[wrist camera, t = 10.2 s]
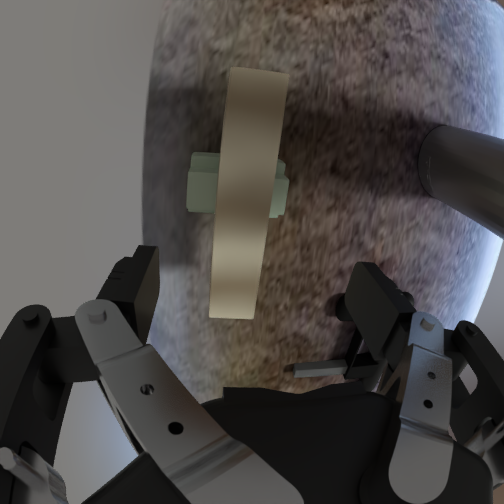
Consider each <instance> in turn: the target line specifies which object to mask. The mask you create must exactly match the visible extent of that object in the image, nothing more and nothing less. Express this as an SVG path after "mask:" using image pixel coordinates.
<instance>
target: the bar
mask: <svg viewBox="0 0 504 504" xmlns="http://www.w3.org/2000/svg"><path fill="white" fill-rule="evenodd" d="M288 81H289V74H284V73H278V72H272V71H265V70H258V69H250V68H241V67H231V71H230V74H229V81H228V88H227V96H226V105H225V113H224V122H223V131H222V140H221V149H220V159H219V170H218V180H217V192H216V203H215V216H214V229H213V243H212V257H211V274H210V299H209V317H212V318H236V319H253V317H254V311H255V305H256V298H257V292H258V286H259V279H260V273H261V266H262V260H263V254H264V247H265V241H266V234H267V227H268V221H269V214H270V207H271V201H272V194H273V187H274V180H275V174H276V167H277V160H278V153H279V146H280V139H281V132H282V125H283V117H284V110H285V103H286V96H287V88H288Z"/></svg>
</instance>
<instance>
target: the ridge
mask: <svg viewBox="0 0 504 504" xmlns="http://www.w3.org/2000/svg"><path fill="white" fill-rule="evenodd" d="M219 159H220V153H207V152H193V154H192V155H191V167H190V169H189V171H188V182H187V201H186V208H188V212H201V213H215V203H216V192H217V180H218V170H219ZM285 167H286V164H285V163H284V162H283V161H282V160H280V159H278V160H277V167H276V174H275V180H274V187H273V194H272V201H271V207H270V214H269V217H271V218H278V215H284V211H285V205H286V199H287V192H288V186H289V179H288V178H287V177H286V176H285V175H284V173H285Z"/></svg>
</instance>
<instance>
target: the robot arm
mask: <svg viewBox="0 0 504 504" xmlns="http://www.w3.org/2000/svg"><path fill="white" fill-rule="evenodd" d="M418 170H419V176H420V180H421V183H422V185H423V187H424V189H425V190H426V192H427V193H428V194H430V195H431V196H432V197H434V198H436V199H438V200H440V201H441V202H443V203H445V204H447V205H448V206H450V207H452V208H453V209H455V210H457V211H459V212H460V213H462V214H464V215H465V216H467V217H469V218H470V219H472V220H474V221H475V222H477V223H479V224H480V225H482V226H483V227H485V228H487V229H488V230H490V231H491V232H493V233H494V234H496V235H497V236H499V237H500V238H502V239H503V240H504V139H500V138H497V137H493V136H490V135H486V134H482V133H478V132H474V131H470V130H466V129H461V128H457V127H452V126H445V125H443V126H439V127H437V128H435V129H433V130H432V131H431V132H430V133H429V134H428V135H427V137H426V138H425V140H424V141H423V144H422V146H421V149H420V153H419V160H418ZM159 289H160V274H159V249H158V247H157V246H145V245H139V246H138V248H137V249H136V251H135V253H134V255H133V257H124V258H123V259H121V260H120V261H118V262H117V263H116V264H115V266H114V268H113V269H112V272H111V273H110V275H109V276H108V279H107V280H106V281H105V283H104V285H103V287H102V289H101V290H100V292H99V294H98V296H97V298H96V300H91V301H88V302H86V303H84V304H82V305H81V306H80V307H79V308H78V309H77V311H76V313H75V316H70V317H61V318H60V317H59V318H52V316H51V313H50V311H49V309H47V307H45V306H43V305H30V306H26V307H24V308H22V309H21V310H19V311H18V312H17V313H16V315H15V316H14V317H13V319H12V321H11V322H10V324H9V325H8V327H7V329H6V330H5V332H4V334H3V335H2V337H1V339H0V504H69V503H68V501H67V497H66V487H65V483H64V480H63V478H62V477H61V475H60V474H59V473H58V472H57V471H56V470H55V469H54V468H53V464H54V459H55V454H56V449H57V444H58V439H59V435H60V430H61V426H62V422H63V418H64V414H65V410H66V406H67V403H68V399H69V396H70V392H71V388H72V385H73V382H85V381H94V380H96V381H97V383H98V385H99V387H100V389H101V391H102V393H103V395H104V397H105V399H106V401H107V402H108V404H109V406H110V408H111V410H112V412H113V413H114V415H115V417H116V419H117V421H118V422H119V424H120V426H121V428H122V430H123V431H124V433H125V435H126V437H127V438H128V440H129V442H130V443H131V445H132V447H133V448H134V450H135V451H136V453H137V454H138V457H137V458H135V459H134V460H133V461H132V462H131V463H130V464H129V465H127V466H126V467H125V468H124V469H123V470H122V471H120V472H119V473H118V474H117V475H116V476H115V477H114V478H112V479H111V480H110V481H108V482H107V483H106V484H105V485H104V486H102V487H101V488H100V489H99V490H97V491H96V492H95V493H94V494H92V495H91V496H90V497H89V498H87V499H86V500H85V501H84V502H83V503H81V504H493V490H494V489H496V488H497V487H499V486H500V485H502V484H503V483H504V361H503V359H502V358H501V356H500V355H499V354H498V353H497V351H496V349H495V348H494V347H493V345H492V344H491V343H490V341H489V340H488V339H487V337H486V336H485V335H484V334H483V332H482V331H481V330H480V329H479V328H478V327H477V326H476V325H474V324H473V323H471V322H469V321H465V320H462V321H460V322H459V323H458V324H457V326H456V328H455V330H448V329H443V325H442V323H441V322H440V321H439V320H438V319H437V318H436V317H435V316H433V315H431V314H429V313H426V312H417V311H416V309H415V308H414V307H413V305H412V304H411V303H410V302H409V300H408V299H407V298H406V297H405V295H403V293H402V292H401V291H400V289H398V287H397V286H396V284H395V283H394V282H393V281H392V280H391V279H389V278H388V277H387V276H385V275H384V273H383V272H382V271H381V270H380V269H379V267H378V266H377V265H376V264H375V263H372V262H357V263H356V264H355V266H354V269H353V272H352V275H351V278H350V281H349V284H348V287H347V290H346V293H345V305H346V307H347V309H348V311H349V313H350V315H351V317H352V318H353V320H354V322H355V324H356V326H357V328H358V330H359V331H360V333H361V335H362V337H363V339H364V341H365V343H366V345H367V347H368V349H369V351H370V352H371V354H372V356H373V358H374V360H384V359H387V361H388V362H387V363H386V365H385V367H384V369H383V372H382V376H381V379H380V382H379V385H378V388H377V391H376V393H375V392H370V391H365V389H364V386H363V384H362V382H361V381H358V382H349V383H339V384H331V385H328V386H325V387H322V388H319V389H315V390H312V391H309V392H306V393H302V394H294V393H288V392H282V391H276V390H271V389H265V388H239V387H223V396H222V398H218V399H214V400H210V401H207V402H205V403H202V404H199V403H198V401H197V400H196V399H195V398H194V397H193V396H192V394H191V393H190V392H189V391H188V390H187V389H186V387H185V386H184V385H183V384H182V383H181V381H180V380H179V379H178V378H177V377H176V375H175V374H174V373H173V372H172V370H171V369H170V368H169V367H168V365H167V364H166V363H165V361H164V360H163V359H162V358H161V356H160V355H159V354H158V352H157V351H156V350H155V348H154V347H153V346H152V345H150V344H146V342H147V338H148V334H149V330H150V326H151V322H152V318H153V315H154V311H155V307H156V304H157V300H158V296H159ZM467 364H469V365H470V367H471V368H472V370H473V371H474V373H475V374H476V376H477V379H478V384H477V387H476V389H475V390H474V391H473V392H472V394H471V395H470V394H469V392H468V390H467V389H466V387H465V385H464V384H463V382H462V380H461V379H460V377H459V375H460V373H461V372H462V371H463V369H464V368H465V367H466V365H467ZM449 424H450V426H451V429H452V431H453V433H454V435H455V438H456V440H457V442H456V441H455V440H453V439H452V437H451V436H450V435H449V433H448V430H449Z"/></svg>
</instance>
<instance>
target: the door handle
mask: <svg viewBox="0 0 504 504" xmlns="http://www.w3.org/2000/svg"><path fill="white" fill-rule="evenodd" d="M402 293H403V295H405V297H406V298H407V299H408V300H409V302H410V303H411V304H412V305H413V306H414V298H413V296H412V295H411V294H410V293H408V292H402ZM336 316H337V318H338V319H339V320H340V321H354V320H353V318H352V317H351V315H350V313H349V311H348V309H347V307H346V305H345V295H344V296H342V297H341V298H340V299H339V301H338V302H337V305H336ZM362 340H363V337H362V335H361V333H360V331H359V330H358V328H357V327H356V330H355V333H354V335H353V338H352V341H351V344H350V346H349V349H348V352H347V354H346V356H345V358H344V359H340V360H327V361H317V362H307V363H295V364H294V367H293V375H294V377H313V376H327V375H339V374H343V376H344V379H345V380H346V379H355V378H360V380H359V381H361V382H362V384H363V386H364V389H365V391H370V392H371V391H372V390H373V389H374V387H375V386H376V384H377V383H379V382H378V380H379V378H380V376H381V375H382V372H383V369H384V367H385V365H386V363H387V362H388V361H387V359H384V360H374V358H373V356H372V354H371V352H370V353H363V354H357V353H358V350H359V348H360V345H361V343H362Z"/></svg>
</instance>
